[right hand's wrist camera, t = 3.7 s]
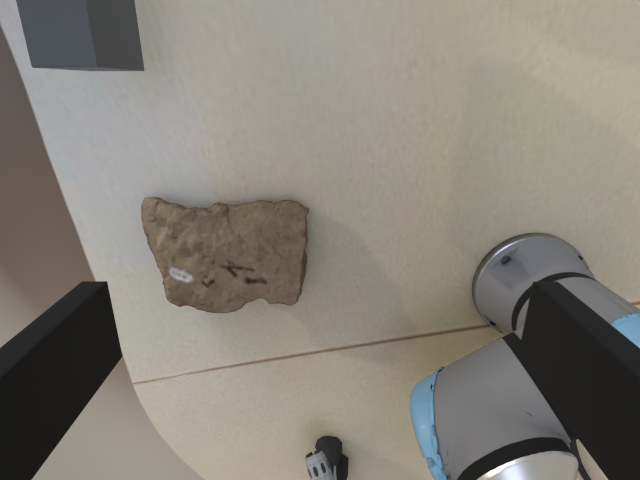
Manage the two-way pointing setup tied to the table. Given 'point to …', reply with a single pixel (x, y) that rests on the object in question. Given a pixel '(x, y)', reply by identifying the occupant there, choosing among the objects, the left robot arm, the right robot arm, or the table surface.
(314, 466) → the robot
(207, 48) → the table surface
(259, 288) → the stone
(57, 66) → the bar
